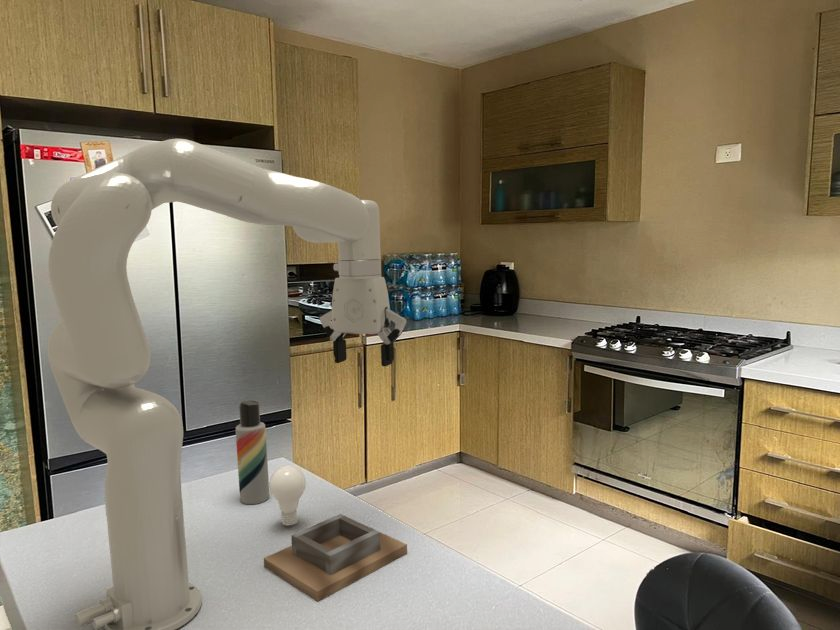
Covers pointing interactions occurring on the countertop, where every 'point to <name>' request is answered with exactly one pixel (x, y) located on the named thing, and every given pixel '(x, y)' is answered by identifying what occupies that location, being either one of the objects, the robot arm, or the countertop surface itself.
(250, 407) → the lotion bottle
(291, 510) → the lightbulb
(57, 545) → the countertop surface
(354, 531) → the lamp socket
